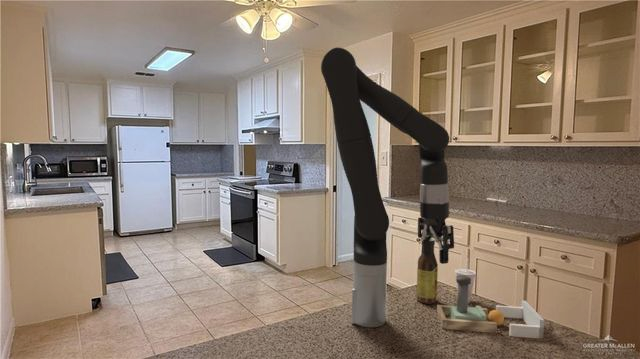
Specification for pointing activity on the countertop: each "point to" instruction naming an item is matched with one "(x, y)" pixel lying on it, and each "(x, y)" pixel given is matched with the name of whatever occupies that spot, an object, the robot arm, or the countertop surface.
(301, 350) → the countertop surface
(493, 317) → the ball
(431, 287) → the sauce bottle
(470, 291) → the smoothie
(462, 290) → the striker
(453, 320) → the wooden rectangular frame
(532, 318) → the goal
